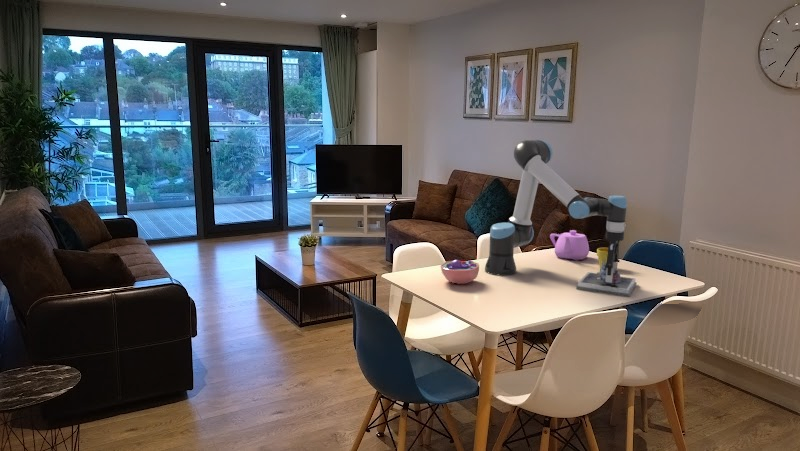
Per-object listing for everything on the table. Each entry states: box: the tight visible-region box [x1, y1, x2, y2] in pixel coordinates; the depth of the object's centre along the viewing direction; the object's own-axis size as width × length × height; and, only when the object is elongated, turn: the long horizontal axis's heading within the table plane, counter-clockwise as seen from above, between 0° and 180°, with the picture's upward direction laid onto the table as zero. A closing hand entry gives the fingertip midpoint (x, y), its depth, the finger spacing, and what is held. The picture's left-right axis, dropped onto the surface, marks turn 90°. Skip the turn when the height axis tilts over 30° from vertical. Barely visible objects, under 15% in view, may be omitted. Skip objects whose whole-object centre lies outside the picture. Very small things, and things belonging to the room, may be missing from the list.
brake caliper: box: [596, 263, 622, 284], centre depth 253 cm, size 11×11×12 cm
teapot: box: [549, 229, 590, 261], centre depth 306 cm, size 23×21×15 cm
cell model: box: [439, 259, 480, 285], centre depth 256 cm, size 17×20×11 cm
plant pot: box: [596, 247, 610, 268], centre depth 286 cm, size 10×10×10 cm
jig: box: [575, 271, 638, 298], centre depth 253 cm, size 22×22×3 cm
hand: (611, 279), depth 253 cm, fingers closed on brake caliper, 11 cm apart
